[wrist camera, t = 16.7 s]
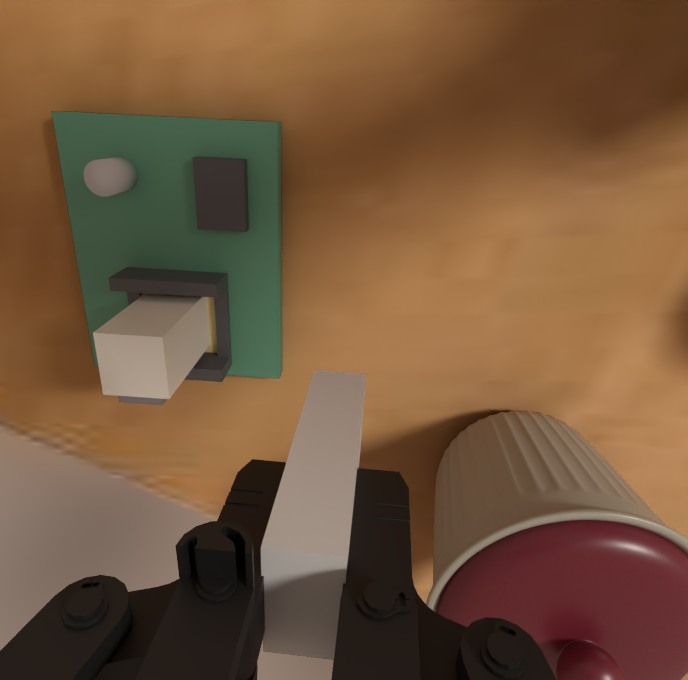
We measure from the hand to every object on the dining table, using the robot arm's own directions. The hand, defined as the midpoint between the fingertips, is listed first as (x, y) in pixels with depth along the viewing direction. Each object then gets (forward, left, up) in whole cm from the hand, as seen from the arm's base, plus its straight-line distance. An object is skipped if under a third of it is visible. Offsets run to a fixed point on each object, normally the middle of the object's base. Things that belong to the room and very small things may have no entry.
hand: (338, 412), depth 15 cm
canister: (+21, +15, -27) cm, 37 cm away
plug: (+7, -14, -25) cm, 30 cm away
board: (+3, -14, -27) cm, 30 cm away
